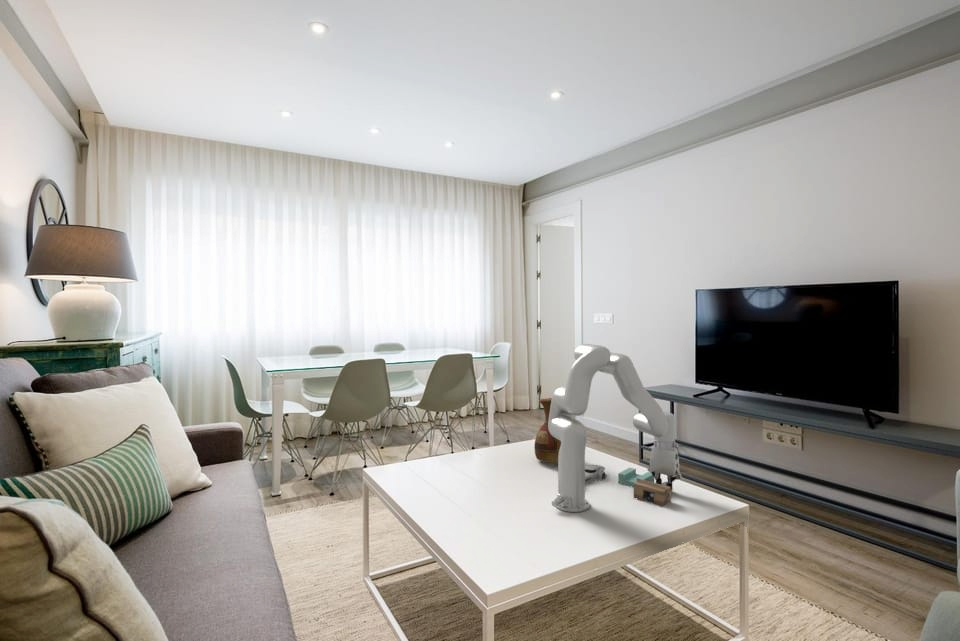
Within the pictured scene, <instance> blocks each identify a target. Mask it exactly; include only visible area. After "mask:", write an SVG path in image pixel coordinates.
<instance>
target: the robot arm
mask: <svg viewBox="0 0 960 641" xmlns="http://www.w3.org/2000/svg"><path fill="white" fill-rule="evenodd" d="M573 357H574V359H575V362H574V363H573V364H572V366H571V368H570V369H569V373H568V377H567V380H566V385H562V386H559V387H558V388H557V389H555V390H554V393H553V394H552V397H551V398H552V400H551V406H550V413H549V420H548V429H549V432H550V434H551V435H552V436H553V437H555V438H556V439H558V440H560V441H561V446H560V450H559V455H558V463H557V464H558V466H557V467H558V473H557V474H558V476H557V479H558V480H557V482H558V483H557V484H558V485H557V486H558V490H557V492H558V493H557V495H556V496H557V497H555V499H554V500H553V501H552V502H551V505H552V507H554V508H555V507H556V508H557V509H559V510H560V511H563V512H569V513H570V512H571V513H580V512H584V511H585V512H586V511H587V510H588V509H589V508H590V502H589V500H588V499H586V486H585V466H586V448H587V447H586V446H587V441H588V430H587V427H586V426H585V424H584V423H582V422H581V421H580V420H578V419H576V418H574V417H573V416H576V417H577V416H578V417H579V416H583V415H584V414H585V413H586V412H587V410H588V407H589V406H588V405H589V400H590V393H591V386H592V381H593V379H594V377H595V375H596V373H597V372H599V373H603V374H607V375H611V376H613V379H614V381H615V383H616V384H617V386H618V389H619V391H620V393H621V396H622V397H623V398H624V399H625V400H626V401H627V402H628V403H630V404H631V405H632V406H633V407H635V408H636V409H638V411H639V412H637V413H636V414H635V415H634V416H633V418H632V424H633V426H634V428H635V429H636V430H638V431H640V432H641V433H644V434H647V435H650V436H653V445H652V448H651V451H650V452H651V453H650V459H649V465H648V467H647V469H646V470H647V472H650V473H652V475H653V476H654V481H655V483H657V484H662V483H663V482H662V481H663V480H662V478H661V475H662V474H663V475H665V476H667V477H666V478H667V481H666V482H667V483H666V486H668V487H671V492H672V491H673V482H675V481H676V480H679V479H682V477H683V476H682V474H681V472H680V458H679V454H678V448H679V444H678V443H676V440H675V437H676V435H675V434H676V430H675V428H676V427H675V425H676V420H675V418H676V417H675V415H674V414H673V413H671V412H668V411H663V408H662V407H661V405H660V404H659V402H658V401H656V399H655V398H654V397H653V396H652V394H650V392H649V391H648V390H647V389H646V388H645V387H644V385H643V382H642V380H641V378H640V376H639V374H638V372H637V370H636V368H635V365H634V363H633V361H632V359H631V358H630V357H629V356H628V355H627V354H624V353H618V352H617V353H616V352H611V351H610V350H609V349H608V348H607V347H606V346H603V345H599V344H591V343H581V344H579V345H578V346H577V347H576V348H575V349H574V352H573Z"/></svg>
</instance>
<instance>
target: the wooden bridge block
mask: <svg viewBox="0 0 960 641" xmlns="http://www.w3.org/2000/svg"><path fill="white" fill-rule="evenodd" d="M648 492H652V493H654V500H653V504H654V505H657V506H661V507H663V506H664V507H666V506H667V505H668V504H670V503H671V499H672V498H671V497H672V496H671V495H672V494H671V493H672V491H671V487H668V486H665V485H661V484H657V483H656V482H654V483H653V482H649V481H645V480H639V481H637V482H635V483H634V487H633V499H636V498H637V500H639V499H640V500H639V501H645V500H646V499H648V497H647V493H648ZM669 502H670V503H669ZM665 505H666V506H665Z"/></svg>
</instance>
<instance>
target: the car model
mask: <svg viewBox="0 0 960 641" xmlns="http://www.w3.org/2000/svg"><path fill="white" fill-rule="evenodd" d="M605 470H606V467H605V466H603V465H599V464H588V465H587V464H585V485H586V486H588V485H590V484H593V483H595V481H596V482H599V480H600V481H604V480H606V478H607V476H608V474H606V472H605ZM603 479H604V480H603ZM592 482H593V483H592ZM587 484H588V485H587Z"/></svg>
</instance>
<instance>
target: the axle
mask: <svg viewBox="0 0 960 641" xmlns="http://www.w3.org/2000/svg"><path fill="white" fill-rule="evenodd" d="M667 482H668V481H664V482H662V484H661V485H665V486H666V483H667ZM647 499H649V501H654V493H652V492H648V493H647Z"/></svg>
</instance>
